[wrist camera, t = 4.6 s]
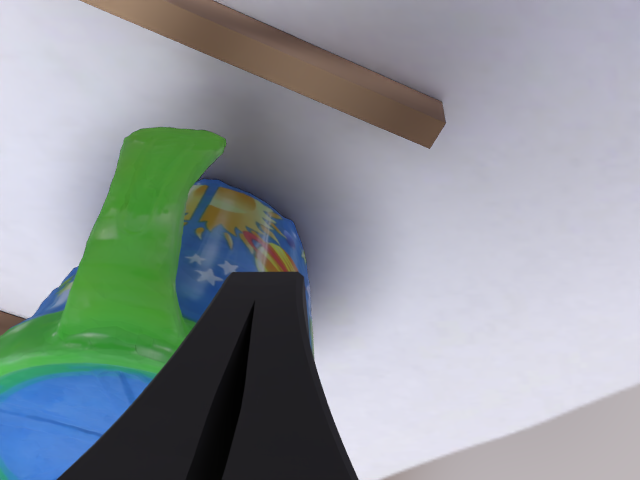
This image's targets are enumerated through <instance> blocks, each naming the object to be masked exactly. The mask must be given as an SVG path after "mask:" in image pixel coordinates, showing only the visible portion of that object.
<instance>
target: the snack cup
mask: <svg viewBox="0 0 640 480" xmlns="http://www.w3.org/2000/svg"><path fill="white" fill-rule="evenodd" d="M225 147H226V139H225V138H223V137H220V136H219V135H217V134H215V133H212V132H209V131H206V130H193V129H177V128H171V127H156V128H145V129H140V130H138V131H135V132H133V133H132V134H131V135H129V136H128V137H126V138H125V139H124V143H123V145H122V148H121V150H120V157H119V160H118V163H117V169H116V171H115V175H114V178H113V180H112V183H111V185H110V189H109V193H108V195H107V198H106V200H105V202H104V205H103V207H102V210H101V212H100V214H99V216H98V218H97V220H96V222H95V224H94V226H93V229H92V231H91V234H90V236H89V238H88V241H87V244H86V248H85V252H84V255H83V258H82V260H81V262H80V264H79V266H78V267H76V268H74V269H73V270H72V271H71V272H70V273H69V275H68V276H67V277H66V278H65V279H64V280H63V282H62V284H61V285H60V286H59V287H58V288H56V289H54V290H53V291H52V292H51V294H50V295H49V296H48V297H47V298H46V299H45V300H44V301H43V302H42V304H41V305H40V307H39V309H38V310H37V311H36V313H35V314H34V315H33V316H32V317H30V318H28V319H26V320H24V321H22V322H21V323H19V324H17V325H15V326H13V327H11V328H10V329H9V330H7V331H6V332H5V333H4V334H3V335H1V336H0V480H56V479H58V478H59V477H60V476H61V475H62V474H63V473H64V472H65V471H66V470H67V469H68V468H69V467H70V466H71V465H72V464H73V463H74V462H76V461H77V460H78V459H79V458H80V457H81V456H82V455H83V454H84V453H85V452H86V451H87V450H88V449H89V448H90V447H91V446H92V445H93V444H94V443H95V442H96V441H97V440H98V439H99V438H100V437H101V436H102V435H103V434H104V433H105V432H106V431H107V430H108V429H109V428H110V427H111V426H112V425H113V424H114V423H115V422H116V421H117V420H118V418H119V417H120V416H121V415H122V414H123V413H124V412H125V411H126V410H127V409H128V408H129V406H130V405H131V404H132V403H133V402H134V401H135V400H136V399H137V398H138V396H139V395H140V394H141V393H142V392H143V390H144V389H145V388H146V387H147V386H148V384H149V383H150V382H151V381H152V380H153V378H154V377H155V376H156V375H157V374H158V372H159V371H160V370H161V369H162V368H163V366H164V365H165V364H166V363H167V361H168V360H169V359H170V358H171V356H172V355H173V354H174V352H175V351H176V350H177V348H178V347H179V346H180V344H181V343H182V342H183V340H184V339H185V338H186V336H187V335H188V334H189V332H190V331H191V330H192V328H193V327H194V326H195V324H196V323H197V321H198V320H199V319H200V317H201V316H202V314H203V313H204V311H205V310H206V308H207V307H208V306H209V304H210V303H211V301H212V300H213V298H214V297H215V295H216V294H217V292H218V290H219V289H220V287H221V286H222V284H223V283H224V281H225V280H226V278H227V277H228V276H229V275H230V274H231V273H232V272H299V273H300V274H302V275H303V276H304V281H305V292H306V303H307V314H308V325H309V337H310V346H311V350H312V354H313V358H314V345H313V329H312V317H311V299H310V284H309V279H308V272H307V262H306V258H305V253H304V251H303V247H302V242H301V240H300V238H299V236H298V234H297V230H296V227H295V225H294V223H293V221H292V220H290V219H287V218H284V217H283V216H281V215H280V214H279V213H278V212H277V211H276V210H275V209H274V208H272V207H271V206H270V205H269V204H267V203H266V202H264V201H262V200H261V199H259V198H257V197H256V196H254V195H253V194H250V193H248V192H245V191H242V190H240V189H238V188H235V187H231V186H229V185H227V184H225V183H224V182H222V181H220V180H209V179H202V180H200V181H197V180H198V179H199V178H200V177H201V175H202V174H203V173H204V172H205V171H206V169H207V168H208V167H209V166H210V165H211V164H213V163H214V162H215V161H216V159H217V158H218V157H219V156H220V155H222V154H223V152H224V148H225ZM196 181H197V182H196Z"/></svg>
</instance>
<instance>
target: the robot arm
mask: <svg viewBox="0 0 640 480" xmlns="http://www.w3.org/2000/svg"><path fill="white" fill-rule="evenodd" d="M56 480H358V477H357V475H356V473H355V470H354V468H353V466H352V464H351V461H350V459H349V457H348V455H347V452H346V450H345V447H344V445H343V443H342V440H341V438H340V435H339V433H338V430H337V428H336V425H335V422H334V420H333V417H332V414H331V412H330V409H329V406H328V403H327V400H326V397H325V394H324V391H323V388H322V385H321V382H320V379H319V376H318V372H317V369H316V365H315V362H314V358H313V354H312V350H311V346H310V337H309V325H308V314H307V303H306V292H305V281H304V276H303V275H302V274H300V273H299V272H232V273H231V274H230V275H229V276H228V277H227V278H226V280H225V281H224V283H223V284H222V286H221V287H220V289H219V290H218V292H217V294H216V295H215V297H214V298H213V300H212V301H211V303H210V304H209V306H208V307H207V308H206V310H205V311H204V313H203V314H202V316H201V317H200V319H199V320H198V321H197V323H196V324H195V326H194V327H193V328H192V330H191V331H190V332H189V334H188V335H187V336H186V338H185V339H184V340H183V342H182V343H181V344H180V346H179V347H178V348H177V350H176V351H175V352H174V354H173V355H172V356H171V358H170V359H169V360H168V361H167V363H166V364H165V365H164V366H163V368H162V369H161V370H160V371H159V372H158V374H157V375H156V376H155V377H154V378H153V380H152V381H151V382H150V383H149V384H148V386H147V387H146V388H145V389H144V390H143V392H142V393H141V394H140V395H139V396H138V398H137V399H136V400H135V401H134V402H133V403H132V404H131V405H130V406H129V408H128V409H127V410H126V411H125V412H124V413H123V414H122V415H121V416H120V417H119V418H118V420H117V421H116V422H115V423H114V424H113V425H112V426H111V427H110V428H109V429H108V430H107V431H106V432H105V433H104V434H103V435H102V436H101V437H100V438H99V439H98V440H97V441H96V442H95V443H94V444H93V445H92V446H91V447H90V448H89V449H88V450H87V451H86V452H85V453H84V454H83V455H82V456H81V457H80V458H79V459H78V460H77V461H76V462H74V463H73V464H72V465H71V466H70V467H69V468H68V469H67V470H66V471H65V472H64V473H63V474H62V475H61V476H60V477H59V478H58V479H56Z"/></svg>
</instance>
